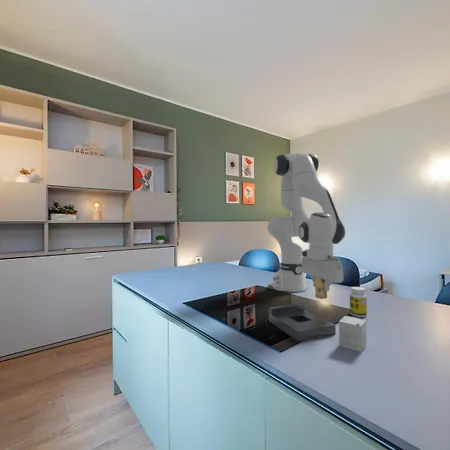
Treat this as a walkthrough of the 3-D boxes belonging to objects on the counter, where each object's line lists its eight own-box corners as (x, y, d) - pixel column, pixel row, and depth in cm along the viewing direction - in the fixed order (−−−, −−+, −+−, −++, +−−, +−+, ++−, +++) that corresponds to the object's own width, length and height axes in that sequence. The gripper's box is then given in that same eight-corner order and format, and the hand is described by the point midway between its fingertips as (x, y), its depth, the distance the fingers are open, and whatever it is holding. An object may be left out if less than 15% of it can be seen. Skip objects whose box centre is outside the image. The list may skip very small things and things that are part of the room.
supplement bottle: (346, 313, 105) (346, 287, 105) (357, 311, 107) (357, 285, 107) (358, 318, 99) (358, 290, 99) (370, 316, 101) (370, 289, 101)
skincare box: (344, 339, 82) (344, 315, 82) (366, 344, 78) (366, 319, 78) (338, 346, 77) (338, 321, 77) (361, 352, 73) (361, 325, 73)
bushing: (312, 296, 107) (312, 276, 106) (321, 294, 108) (321, 275, 108) (320, 299, 103) (320, 278, 102) (329, 297, 104) (329, 277, 104)
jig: (269, 321, 98) (268, 307, 98) (301, 316, 102) (301, 303, 102) (298, 341, 81) (298, 325, 81) (335, 334, 85) (335, 318, 85)
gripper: (347, 257, 96) (347, 295, 97) (311, 250, 115) (311, 282, 116) (333, 258, 94) (333, 297, 94) (298, 251, 113) (298, 283, 114)
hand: (321, 289), depth 105 cm, fingers closed on bushing, 4 cm apart
